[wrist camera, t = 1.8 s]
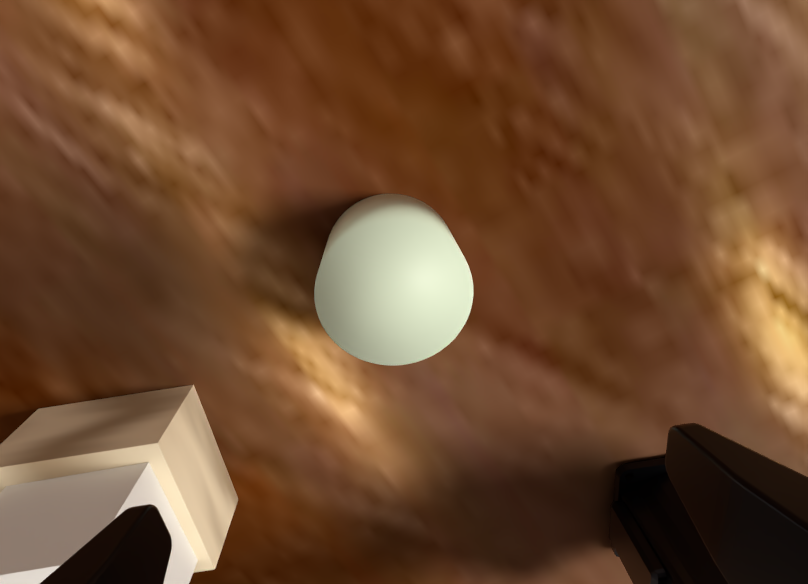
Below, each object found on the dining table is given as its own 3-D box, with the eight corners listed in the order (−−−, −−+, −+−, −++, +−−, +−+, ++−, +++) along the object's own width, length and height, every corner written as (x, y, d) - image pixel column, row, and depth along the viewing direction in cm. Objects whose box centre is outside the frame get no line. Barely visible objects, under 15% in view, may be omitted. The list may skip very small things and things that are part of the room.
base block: (195, 381, 21) (157, 443, 17) (239, 495, 24) (214, 569, 20) (42, 405, 21) (-29, 471, 17) (104, 516, 24) (54, 594, 20)
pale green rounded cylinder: (447, 183, 18) (466, 207, 14) (459, 305, 20) (478, 353, 16) (313, 204, 18) (297, 232, 14) (339, 323, 20) (331, 375, 16)
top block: (148, 462, 17) (89, 560, 14) (198, 560, 20) (157, 667, 16) (6, 486, 18) (-92, 590, 14) (71, 581, 20) (1, 692, 16)
